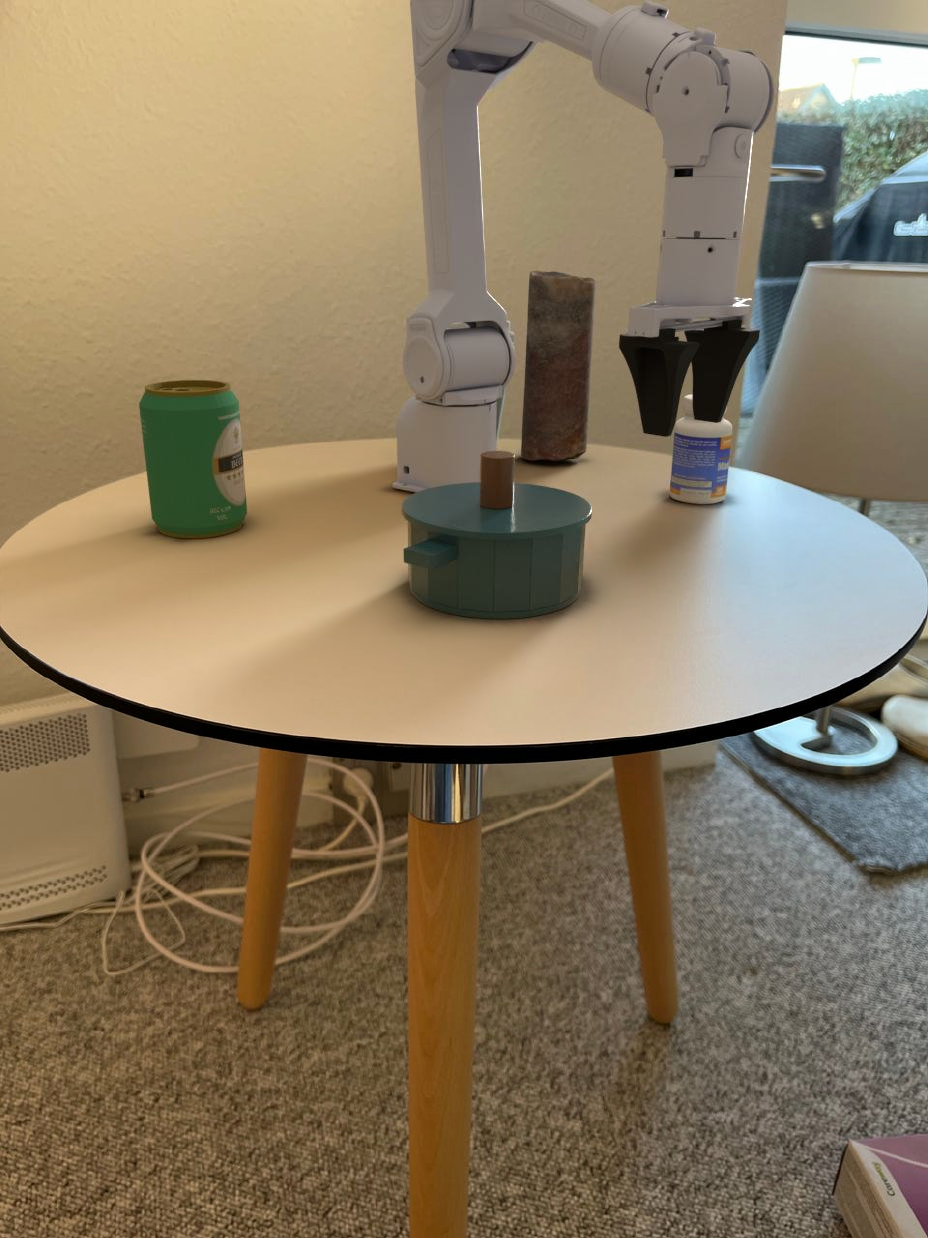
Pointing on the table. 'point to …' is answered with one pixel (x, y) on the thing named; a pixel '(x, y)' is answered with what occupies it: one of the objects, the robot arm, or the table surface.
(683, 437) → the pill bottle
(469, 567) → the pot
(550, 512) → the lid
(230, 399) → the beverage can
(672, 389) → the robot arm
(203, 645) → the table surface
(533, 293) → the candle
